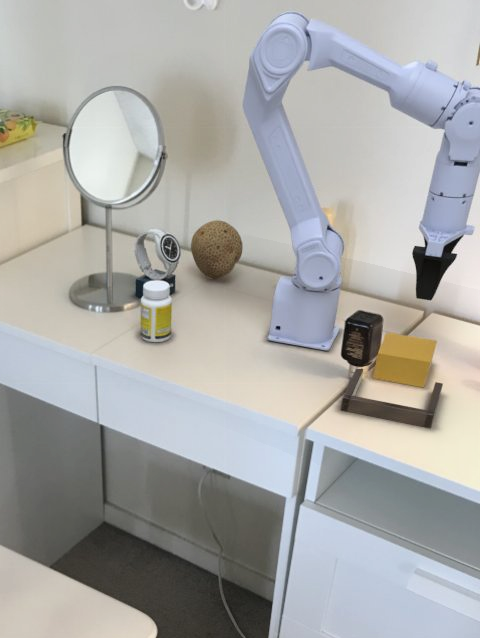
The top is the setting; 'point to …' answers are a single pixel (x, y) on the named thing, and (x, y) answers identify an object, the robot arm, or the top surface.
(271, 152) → the robot arm
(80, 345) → the top surface
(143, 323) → the supplement bottle
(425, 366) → the block
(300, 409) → the top surface
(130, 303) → the top surface
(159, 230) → the watch
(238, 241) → the natural sponge
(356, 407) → the bay
